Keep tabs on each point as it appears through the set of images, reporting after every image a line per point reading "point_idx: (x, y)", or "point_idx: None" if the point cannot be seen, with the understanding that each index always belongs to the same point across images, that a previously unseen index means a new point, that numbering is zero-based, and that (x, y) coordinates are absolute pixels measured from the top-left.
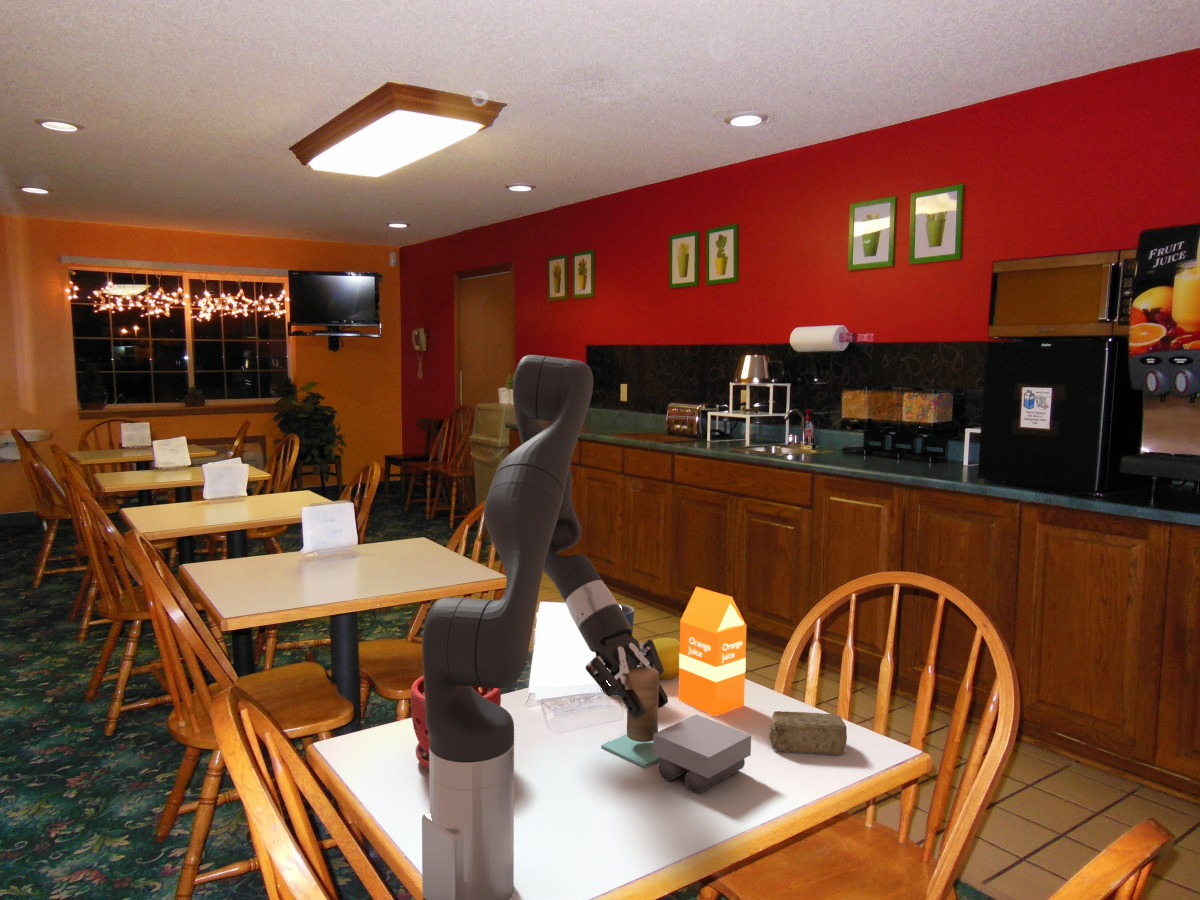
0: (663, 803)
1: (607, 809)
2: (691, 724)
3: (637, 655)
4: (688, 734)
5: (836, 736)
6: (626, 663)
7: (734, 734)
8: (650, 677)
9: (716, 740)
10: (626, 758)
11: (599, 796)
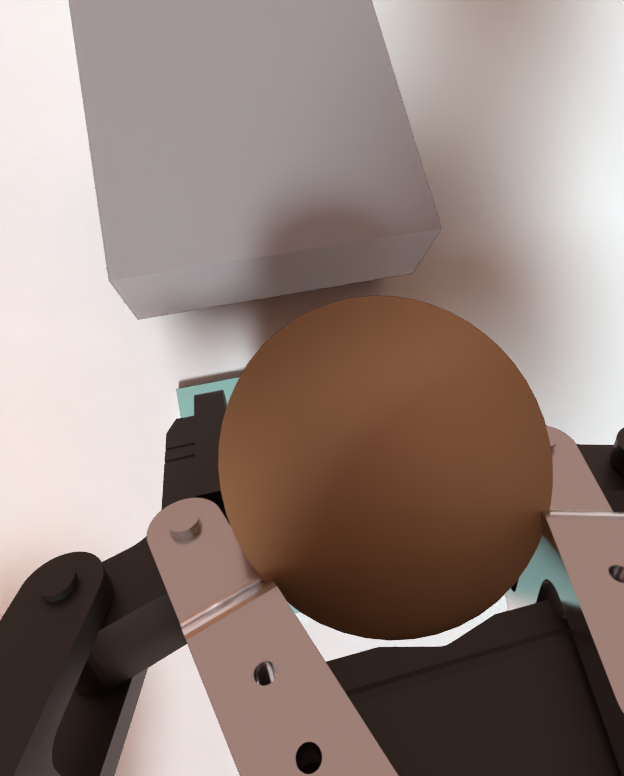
0: (458, 163)
1: (610, 220)
2: (220, 206)
3: (351, 759)
4: (303, 144)
5: None
6: (588, 619)
7: (125, 41)
8: (403, 308)
9: (238, 44)
10: None
11: (602, 285)
